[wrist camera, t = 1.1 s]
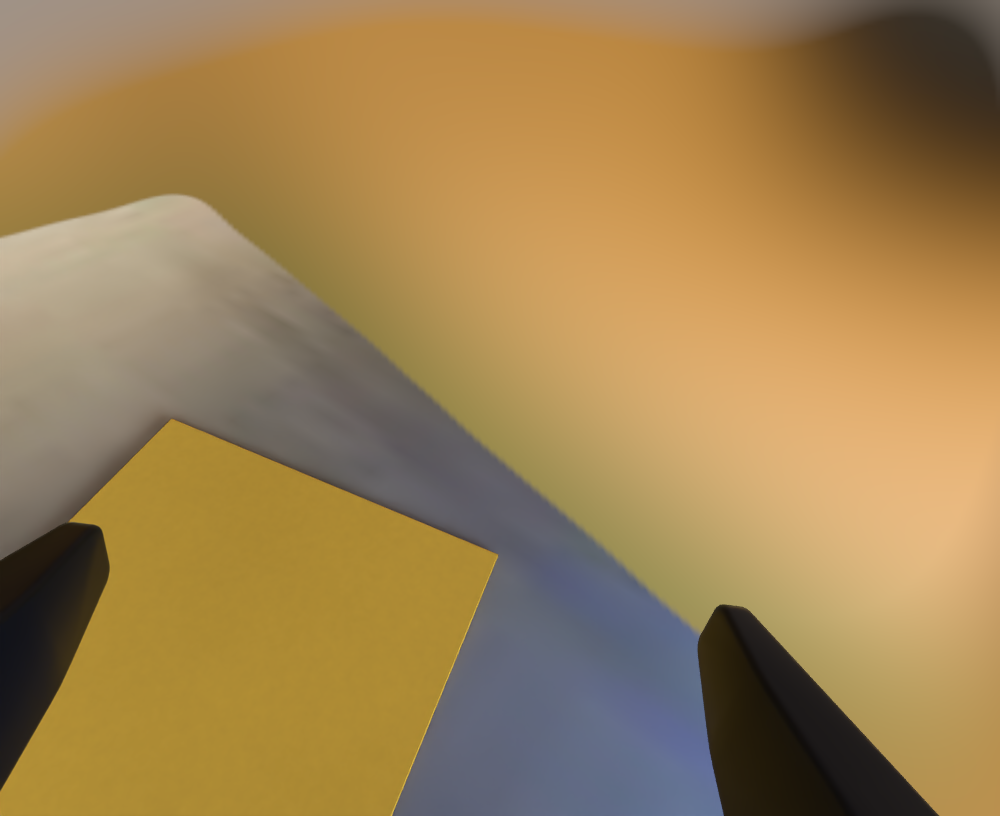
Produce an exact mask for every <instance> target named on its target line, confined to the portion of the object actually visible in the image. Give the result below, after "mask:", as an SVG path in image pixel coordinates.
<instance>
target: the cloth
mask: <svg viewBox="0 0 1000 816" xmlns="http://www.w3.org/2000/svg"><path fill="white" fill-rule="evenodd" d="M69 522H77V523H85V524H93V525H97V526H99V527H100V528H101V529H102V532H103V535H104V540H105V545H106V549H107V554H108V559H109V564H110V572H109V577H108V581H107V583H106V586H105V588H104V590H103V592H102V595H101V597H100V599H99V601H98V604H97V606H96V608H95V610H94V613H93V615H92V617H91V620H90V622H89V624H88V626H87V629H86V631H85V633H84V635H83V638H82V640H81V642H80V644H79V647H78V649H77V651H76V654H75V656H74V658H73V660H72V663H71V665H70V667H69V669H68V671H67V674H66V676H65V678H64V680H63V682H62V684H61V686H60V688H59V690H58V692H57V693H56V695H55V697H54V699H53V701H52V703H51V704H50V706H49V708H48V710H47V711H46V713H45V715H44V717H43V718H42V720H41V722H40V723H39V725H38V727H37V729H36V730H35V732H34V734H33V736H32V737H31V739H30V741H29V743H28V744H27V746H26V748H25V750H24V751H23V753H22V755H21V756H20V758H19V760H18V762H17V763H16V765H15V767H14V769H13V770H12V772H11V774H10V776H9V777H8V779H7V781H6V782H5V784H4V786H3V788H2V789H1V791H0V816H392V814H393V812H394V809H395V807H396V804H397V802H398V799H399V797H400V794H401V792H402V790H403V787H404V785H405V782H406V780H407V777H408V775H409V772H410V770H411V768H412V765H413V763H414V760H415V758H416V755H417V753H418V750H419V748H420V746H421V743H422V741H423V738H424V736H425V733H426V731H427V728H428V726H429V724H430V721H431V719H432V716H433V714H434V711H435V709H436V706H437V704H438V702H439V699H440V697H441V694H442V692H443V689H444V687H445V684H446V682H447V680H448V677H449V675H450V672H451V670H452V667H453V665H454V662H455V660H456V658H457V655H458V653H459V650H460V648H461V645H462V643H463V640H464V638H465V636H466V633H467V631H468V628H469V626H470V623H471V621H472V618H473V616H474V614H475V611H476V609H477V606H478V604H479V601H480V599H481V596H482V594H483V592H484V589H485V587H486V584H487V582H488V579H489V577H490V574H491V572H492V570H493V567H494V565H495V562H496V560H497V557H498V554H495V553H493V552H491V551H488V550H486V549H483V548H481V547H479V546H476V545H474V544H471V543H469V542H467V541H464V540H462V539H459V538H457V537H455V536H452V535H450V534H447V533H445V532H443V531H440V530H438V529H435V528H433V527H431V526H428V525H426V524H423V523H421V522H419V521H416V520H414V519H411V518H409V517H407V516H404V515H402V514H399V513H397V512H395V511H392V510H390V509H387V508H385V507H383V506H380V505H378V504H375V503H373V502H371V501H368V500H366V499H363V498H361V497H359V496H356V495H354V494H351V493H349V492H347V491H344V490H342V489H339V488H337V487H335V486H332V485H330V484H327V483H325V482H323V481H320V480H318V479H315V478H313V477H311V476H308V475H306V474H303V473H301V472H299V471H296V470H294V469H291V468H289V467H287V466H284V465H282V464H279V463H277V462H275V461H272V460H270V459H267V458H265V457H263V456H260V455H258V454H255V453H253V452H251V451H248V450H246V449H243V448H241V447H239V446H236V445H234V444H231V443H229V442H227V441H224V440H222V439H219V438H217V437H215V436H212V435H210V434H207V433H205V432H203V431H200V430H198V429H195V428H193V427H191V426H188V425H186V424H183V423H181V422H179V421H176V420H174V419H171V420H170V421H169V422H168V423H167V424H166V425H165V426H164V427H163V428H162V429H161V430H160V431H159V432H158V433H157V434H156V435H155V436H154V437H153V438H152V439H151V440H150V441H149V442H148V443H147V444H146V445H145V446H144V447H143V448H142V449H141V450H140V451H139V452H138V453H137V454H136V455H135V456H134V457H133V458H132V459H131V460H130V461H129V462H128V463H127V464H126V465H125V466H124V467H123V468H122V469H121V470H120V471H119V472H118V473H117V474H116V475H115V476H114V477H113V478H112V479H111V480H110V481H109V482H108V483H107V484H106V485H105V486H104V487H103V488H102V489H101V490H100V491H99V492H98V493H97V494H96V495H95V496H94V497H93V498H92V499H91V500H90V501H89V502H88V503H87V504H86V505H85V506H84V507H83V508H82V509H81V510H80V511H79V512H78V513H77V514H76V515H75V516H74V517H73V518H72V519H71V520H70V521H69Z"/></svg>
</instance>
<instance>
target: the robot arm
mask: <svg viewBox="0 0 1000 816" xmlns="http://www.w3.org/2000/svg"><path fill="white" fill-rule="evenodd" d="M109 572H110V564H109V559H108V554H107V549H106V545H105V540H104V535H103V532H102V529H101V528H100V527H99V526H97V525H93V524H85V523H77V522H67V523H64V524H62V525H60V526H58V527H56V528H55V529H53V530H51V531H50V532H48V533H46V534H45V535H43V536H41V537H39V538H38V539H36V540H34V541H33V542H31V543H29V544H27V545H26V546H24V547H22V548H21V549H19V550H17V551H15V552H14V553H12V554H10V555H9V556H7V557H5V558H3V559H2V560H0V791H1V789H2V788H3V786H4V784H5V782H6V781H7V779H8V777H9V776H10V774H11V772H12V770H13V769H14V767H15V765H16V763H17V762H18V760H19V758H20V756H21V755H22V753H23V751H24V750H25V748H26V746H27V744H28V743H29V741H30V739H31V737H32V736H33V734H34V732H35V730H36V729H37V727H38V725H39V723H40V722H41V720H42V718H43V717H44V715H45V713H46V711H47V710H48V708H49V706H50V704H51V703H52V701H53V699H54V697H55V695H56V693H57V692H58V690H59V688H60V686H61V684H62V682H63V680H64V678H65V676H66V674H67V671H68V669H69V667H70V665H71V663H72V660H73V658H74V656H75V654H76V651H77V649H78V647H79V644H80V642H81V640H82V638H83V635H84V633H85V631H86V629H87V626H88V624H89V622H90V620H91V617H92V615H93V613H94V610H95V608H96V606H97V604H98V601H99V599H100V597H101V595H102V592H103V590H104V588H105V586H106V583H107V581H108V577H109ZM698 660H699V668H700V677H701V685H702V693H703V702H704V710H705V719H706V727H707V735H708V742H709V749H710V755H711V760H712V765H713V769H714V774H715V778H716V783H717V787H718V792H719V796H720V801H721V805H722V809H723V814H724V816H939V815H938V814H937V813H936V812H935V811H934V810H933V809H932V808H931V807H930V806H929V804H928V803H927V802H926V801H925V800H924V799H923V798H922V797H921V796H920V795H919V794H918V792H917V791H916V790H915V789H914V788H913V787H912V786H911V785H910V784H909V783H908V782H907V781H906V779H904V777H903V776H902V775H901V774H900V773H899V772H898V771H897V770H896V769H895V768H894V766H893V765H892V764H891V763H890V762H889V761H888V760H887V759H886V758H885V757H884V756H883V755H882V754H881V752H880V751H879V750H878V749H877V748H876V747H875V746H874V745H873V744H872V743H871V742H870V741H869V739H867V737H866V736H865V735H864V734H863V733H862V732H861V731H860V730H859V729H858V728H857V726H856V725H855V724H854V723H853V722H852V721H851V720H850V719H849V718H848V717H847V716H846V715H845V714H844V712H843V711H842V710H841V709H840V708H839V707H838V706H837V705H836V704H835V703H834V702H833V701H832V699H831V698H830V697H829V696H828V695H827V694H826V693H825V692H824V691H823V690H822V689H821V688H820V686H819V685H817V683H816V682H815V681H814V680H813V679H812V678H811V677H810V676H809V675H808V673H807V672H806V671H805V670H804V669H803V668H802V667H801V666H800V665H799V664H798V663H797V662H796V661H795V659H794V658H793V657H792V656H791V655H790V654H789V653H788V652H787V651H786V650H785V649H784V648H783V646H782V645H781V644H780V643H779V642H778V641H777V640H776V639H775V638H774V637H773V636H772V635H771V633H770V632H768V630H767V629H766V628H765V627H764V626H763V625H762V624H761V623H760V622H759V621H758V620H757V618H756V617H755V616H754V615H753V614H752V613H751V612H750V611H749V610H748V609H746V608H744V607H739V606H732V605H719V606H718V607H716V609H715V610H714V612H713V614H712V616H711V617H710V619H709V621H708V623H707V625H706V626H705V628H704V630H703V632H702V633H701V635H700V638H699V641H698Z"/></svg>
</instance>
